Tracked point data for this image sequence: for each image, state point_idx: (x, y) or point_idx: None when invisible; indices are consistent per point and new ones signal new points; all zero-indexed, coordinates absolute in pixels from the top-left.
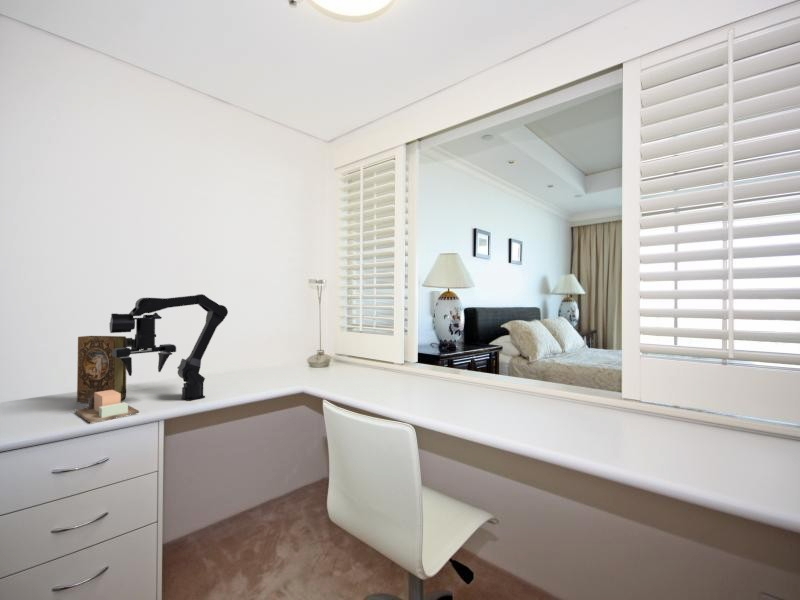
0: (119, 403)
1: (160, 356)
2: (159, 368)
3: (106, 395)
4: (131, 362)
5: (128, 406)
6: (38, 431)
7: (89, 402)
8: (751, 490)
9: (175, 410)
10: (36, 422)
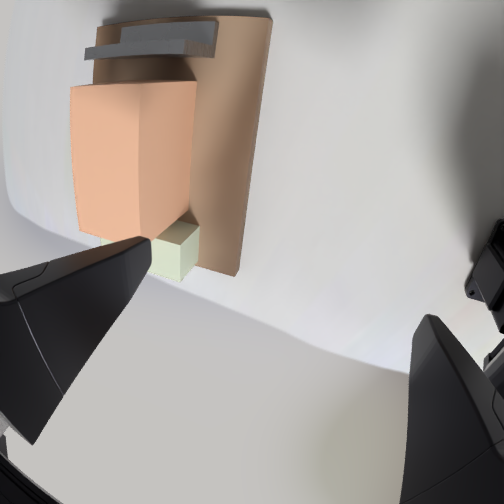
0: (158, 244)
1: (460, 501)
2: (415, 369)
3: (92, 226)
4: (62, 395)
5: (242, 159)
6: (32, 180)
7: (101, 59)
8: None
9: (334, 350)
10: (32, 74)
